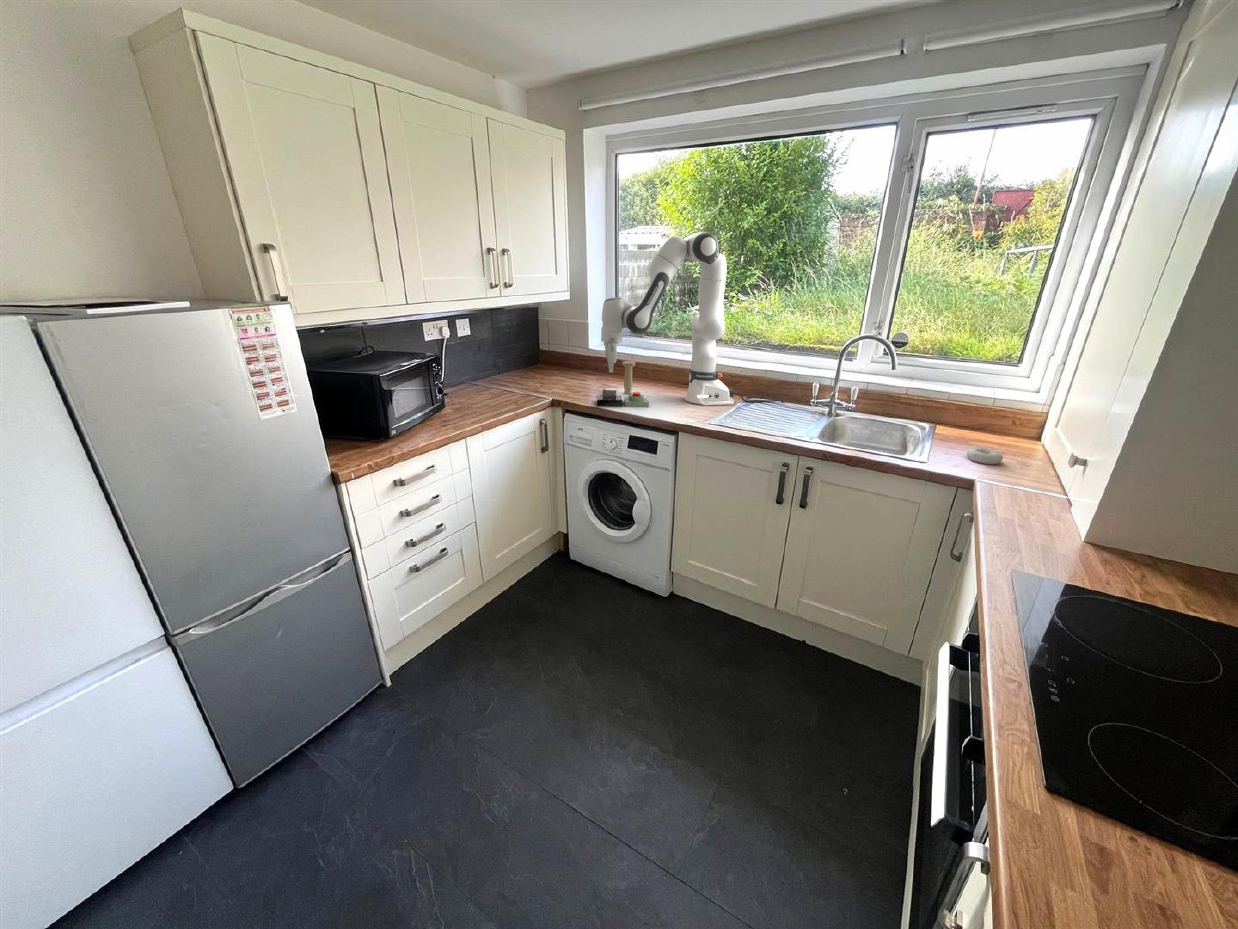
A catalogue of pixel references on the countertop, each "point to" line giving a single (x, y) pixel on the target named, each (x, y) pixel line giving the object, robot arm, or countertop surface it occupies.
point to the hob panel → (609, 401)
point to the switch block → (635, 401)
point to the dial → (609, 393)
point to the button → (636, 394)
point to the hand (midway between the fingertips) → (610, 370)
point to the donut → (984, 455)
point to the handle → (628, 376)
